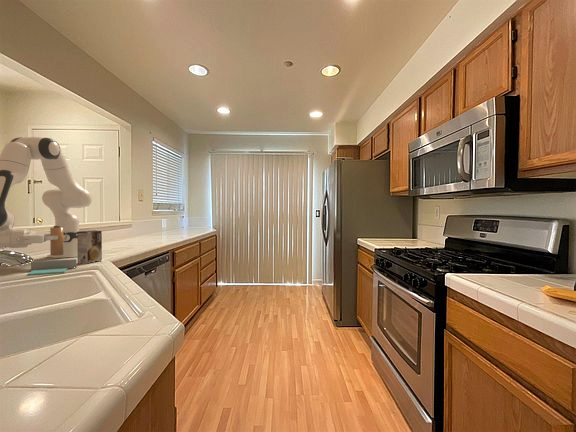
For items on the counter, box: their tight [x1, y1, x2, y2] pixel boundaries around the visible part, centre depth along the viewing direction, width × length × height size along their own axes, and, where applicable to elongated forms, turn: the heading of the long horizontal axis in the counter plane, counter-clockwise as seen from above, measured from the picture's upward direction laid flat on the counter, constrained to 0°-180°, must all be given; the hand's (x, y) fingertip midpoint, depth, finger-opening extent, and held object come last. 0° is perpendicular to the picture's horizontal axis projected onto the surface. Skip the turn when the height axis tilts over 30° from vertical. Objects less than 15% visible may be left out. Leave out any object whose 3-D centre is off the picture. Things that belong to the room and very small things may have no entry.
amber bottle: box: [49, 225, 64, 256], centre depth 145 cm, size 5×5×14 cm
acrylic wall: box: [30, 258, 77, 272], centre depth 135 cm, size 1×16×4 cm, turn 119°
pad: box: [27, 268, 68, 276], centre depth 129 cm, size 9×12×1 cm
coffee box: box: [76, 229, 103, 264], centre depth 155 cm, size 9×6×16 cm
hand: (59, 236), depth 145 cm, fingers closed on amber bottle, 5 cm apart
